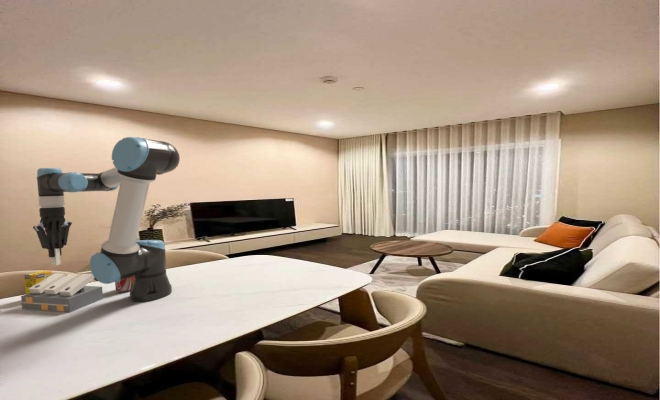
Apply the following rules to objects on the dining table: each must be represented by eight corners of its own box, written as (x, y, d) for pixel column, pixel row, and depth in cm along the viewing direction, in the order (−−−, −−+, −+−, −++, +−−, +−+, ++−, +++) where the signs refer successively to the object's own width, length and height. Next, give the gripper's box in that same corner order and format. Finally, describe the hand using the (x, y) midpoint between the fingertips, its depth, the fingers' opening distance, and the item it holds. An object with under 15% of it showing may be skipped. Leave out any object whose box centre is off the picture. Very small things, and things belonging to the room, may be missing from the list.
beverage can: (111, 292, 130) (109, 264, 129) (129, 286, 137) (127, 260, 137) (124, 294, 127) (122, 266, 127) (141, 287, 135) (140, 261, 134)
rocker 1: (66, 277, 123) (64, 273, 122) (40, 293, 114) (38, 288, 113) (56, 277, 124) (54, 272, 123) (30, 292, 115) (28, 288, 114)
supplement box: (37, 302, 120) (35, 275, 120) (25, 301, 121) (23, 274, 121) (53, 296, 126) (51, 271, 125) (42, 295, 127) (40, 270, 127)
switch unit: (102, 298, 122) (101, 283, 122) (69, 312, 109) (68, 295, 109) (58, 296, 126) (57, 281, 126) (21, 309, 113) (20, 292, 113)
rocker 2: (80, 278, 122) (78, 273, 121) (55, 294, 113) (53, 289, 112) (70, 277, 123) (68, 273, 122) (45, 293, 114) (43, 289, 113)
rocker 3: (94, 277, 121) (92, 273, 120) (71, 296, 112) (69, 291, 111) (84, 277, 121) (82, 273, 120) (61, 295, 113) (58, 291, 112)
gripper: (61, 205, 128) (65, 260, 129) (25, 208, 115) (29, 268, 116) (76, 205, 126) (79, 260, 128) (41, 208, 113) (45, 269, 115)
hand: (55, 264), depth 122 cm, fingers closed
